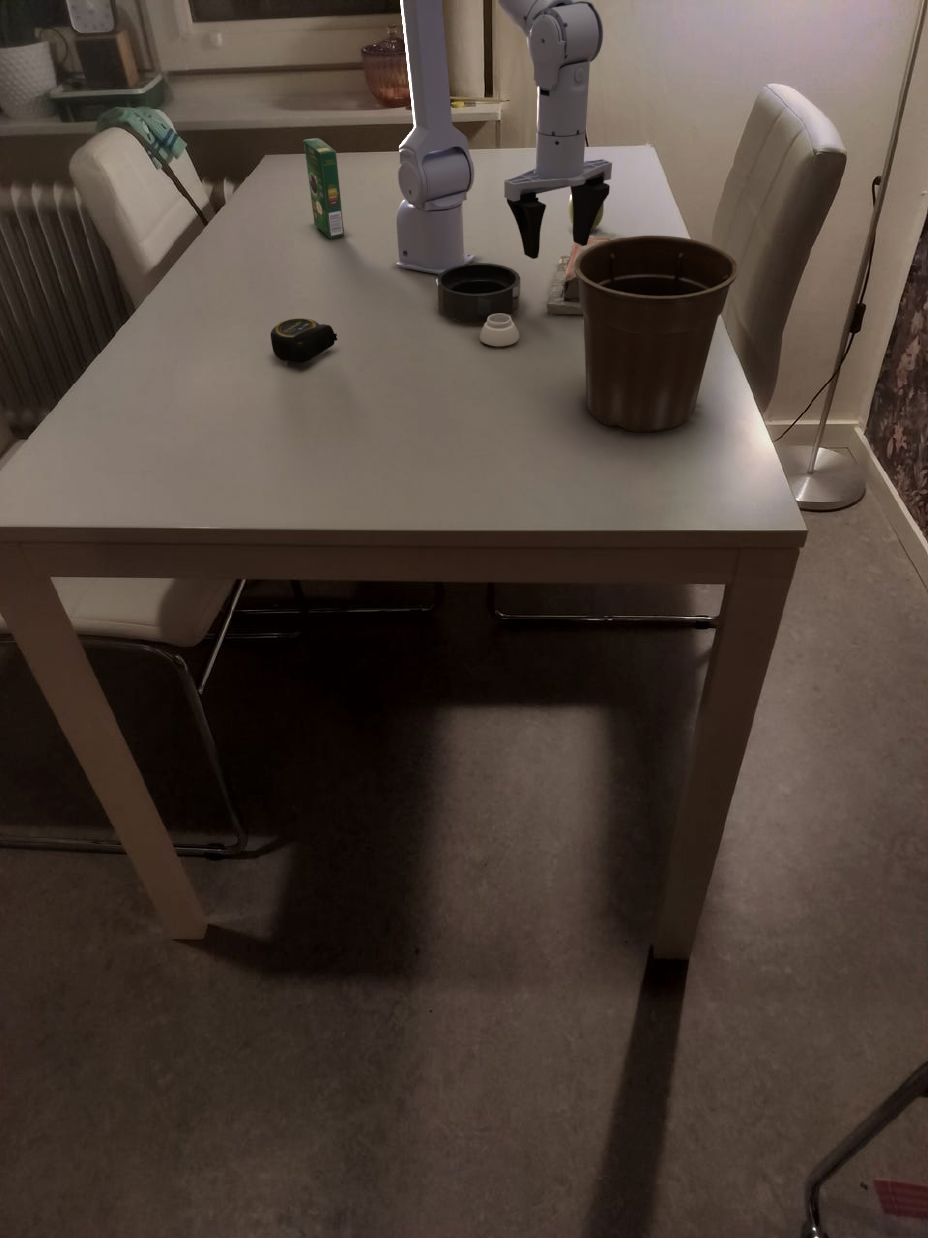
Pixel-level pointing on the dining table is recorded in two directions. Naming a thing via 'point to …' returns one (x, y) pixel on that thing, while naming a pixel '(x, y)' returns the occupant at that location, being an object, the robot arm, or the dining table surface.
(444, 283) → the bowl
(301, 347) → the tape measure
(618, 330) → the plant pot
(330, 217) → the coffee box
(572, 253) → the packaged product
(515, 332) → the white jar
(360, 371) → the dining table surface
